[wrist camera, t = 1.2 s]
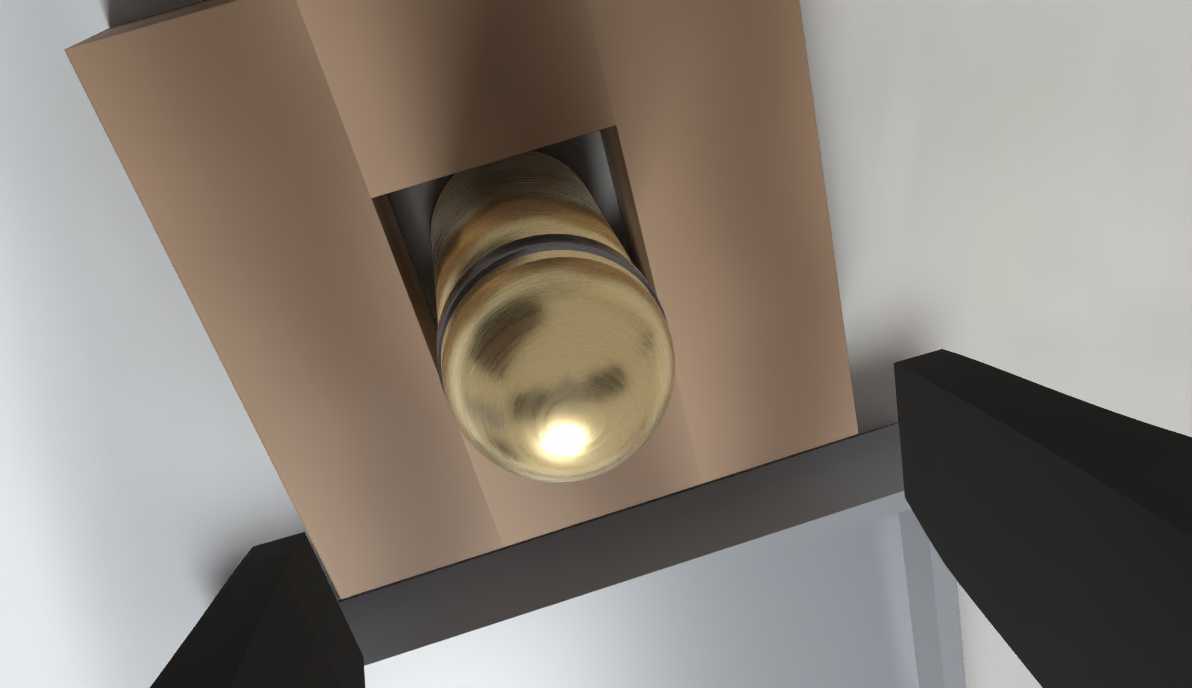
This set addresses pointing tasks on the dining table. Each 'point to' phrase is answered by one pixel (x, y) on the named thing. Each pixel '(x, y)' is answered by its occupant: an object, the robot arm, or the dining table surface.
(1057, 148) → the dining table surface
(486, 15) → the holder block
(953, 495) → the robot arm
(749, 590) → the tray
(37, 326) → the dining table surface
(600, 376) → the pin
